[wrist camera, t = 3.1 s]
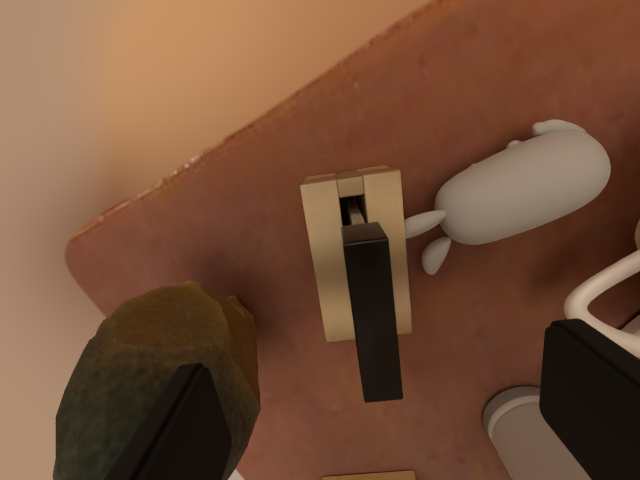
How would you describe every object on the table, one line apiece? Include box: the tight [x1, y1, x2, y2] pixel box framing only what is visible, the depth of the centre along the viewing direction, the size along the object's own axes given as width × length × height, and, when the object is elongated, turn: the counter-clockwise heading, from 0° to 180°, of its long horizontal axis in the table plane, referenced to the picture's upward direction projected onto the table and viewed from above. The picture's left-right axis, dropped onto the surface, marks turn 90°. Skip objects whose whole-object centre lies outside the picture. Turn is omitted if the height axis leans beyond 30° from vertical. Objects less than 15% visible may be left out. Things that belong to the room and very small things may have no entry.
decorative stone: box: [53, 280, 260, 480], centre depth 16 cm, size 10×6×15 cm, turn 32°
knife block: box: [300, 165, 412, 342], centre depth 20 cm, size 10×5×4 cm, turn 9°
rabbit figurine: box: [404, 120, 611, 275], centre depth 19 cm, size 6×5×12 cm
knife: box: [341, 196, 403, 403], centre depth 17 cm, size 7×2×11 cm, turn 9°
